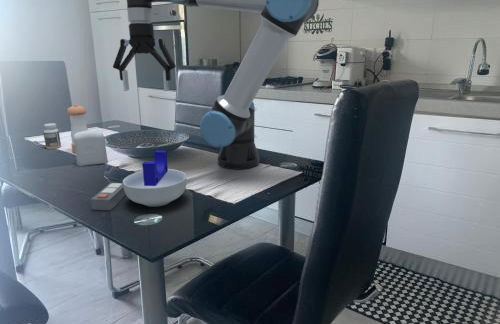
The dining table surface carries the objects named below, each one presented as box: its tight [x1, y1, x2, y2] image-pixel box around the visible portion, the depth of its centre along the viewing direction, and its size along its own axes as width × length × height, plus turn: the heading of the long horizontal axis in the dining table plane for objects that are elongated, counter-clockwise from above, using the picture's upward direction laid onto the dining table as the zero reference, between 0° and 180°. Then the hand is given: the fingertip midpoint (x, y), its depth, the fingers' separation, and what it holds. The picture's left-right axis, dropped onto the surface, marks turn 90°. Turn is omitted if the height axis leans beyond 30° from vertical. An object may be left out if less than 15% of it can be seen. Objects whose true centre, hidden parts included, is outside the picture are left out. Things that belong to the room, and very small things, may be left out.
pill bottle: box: [42, 122, 62, 150], centre depth 159 cm, size 6×6×10 cm
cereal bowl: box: [122, 168, 188, 208], centre depth 105 cm, size 17×17×7 cm
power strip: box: [90, 182, 127, 211], centre depth 106 cm, size 5×15×4 cm, turn 176°
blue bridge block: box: [142, 150, 169, 186], centre depth 102 cm, size 12×4×6 cm, turn 177°
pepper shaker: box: [66, 103, 89, 154], centre depth 151 cm, size 7×7×19 cm
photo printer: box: [74, 129, 109, 167], centre depth 136 cm, size 10×4×12 cm, turn 110°
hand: (146, 90), depth 127 cm, fingers open, 13 cm apart
